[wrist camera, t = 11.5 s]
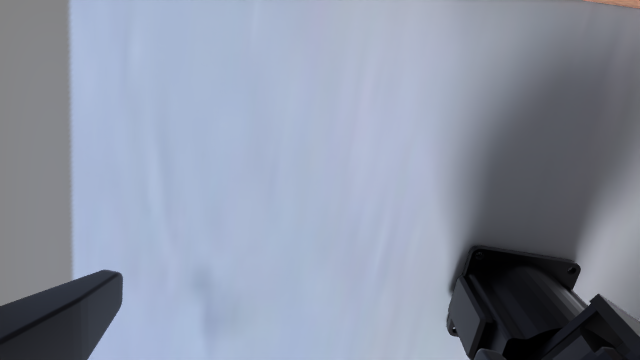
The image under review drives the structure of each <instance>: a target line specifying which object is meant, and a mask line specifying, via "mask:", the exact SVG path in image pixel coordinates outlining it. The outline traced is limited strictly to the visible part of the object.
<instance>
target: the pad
mask: <svg viewBox="0 0 640 360" xmlns="http://www.w3.org/2000/svg"><path fill="white" fill-rule="evenodd" d="M584 1H591V2H598V3H605V4H612V5H619V6H626V7H633V8H639V9H640V0H584Z"/></svg>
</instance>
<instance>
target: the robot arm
mask: <svg viewBox="0 0 640 360" xmlns="http://www.w3.org/2000/svg"><path fill="white" fill-rule="evenodd" d="M479 252H482V254H481V255H480V256H476V254H477V253H479ZM570 267H572V269H571V270H569V271H567V270H568V269H569V268H570ZM580 271H581V268H580V266H579V265H578V264H577V263H575V262H574V261H572V260H568V259H561V258H555V257H549V256H543V255H536V254H530V253H524V252H517V251H511V250H505V249H499V248H492V247H486V246H474V247H473V248H471V250H470V251H469V255H468V258H467V261H466V264H465V267H464V271H463V274H462V275H461V276H460V277H459V278H458V279H457V282H456V286H455V289H454V292H453V295H452V299H451V302H450V305H449V308H448V311H449V313H450V315H449V319H448V322H447V329H448V332H449V334H450V335H452V336H456V337H459V338H460V340H461V342H462V345H463V347H464V350H465V352H466V355H467V356H468V358H469V359H470V360H640V322H639V321H637V320H636V319H634V318H633V317H631V316H630V315H629V314H627V313H626V312H624V311H623V310H622V309H620V308H619V307H617V306H616V305H614V304H613V303H612V302H610V301H609V300H607V299H606V298H605V297H603V296H602V295H600V294H597V295H596V296H595V297H594V298H593V299H592V300H590V303H591V304H590V305H589V306H588V305H587V304H586V303H585V302H584V301H583V300H582V299H581V298H580V297H579V296H578V295H577V294H576V293H575V292H574V291H573V288H574V285H575V283H576V281H577V278H578V276H579V274H580ZM122 290H123V277H122V274H121V273H119V272H115V271H110V270H101V271H99V272H96V273H93V274H90V275H87V276H84V277H82V278H79V279H76V280H73V281H70V282H68V283H65V284H62V285H59V286H56V287H53V288H51V289H48V290H45V291H42V292H39V293H36V294H34V295H31V296H28V297H25V298H23V299H20V300H16V301H14V302H11V303H8V304H5V305H3V306H0V360H87V359H88V358H89V356H90V355H91V353H92V352H93V350H94V348H95V347H96V345H97V344H98V342H99V341H100V339H101V338H102V336H103V334H104V333H105V331H106V330H107V328H108V327H109V325H110V323H111V322H112V320H113V319H114V317H115V316H116V314H117V312H118V311H119V309H120V307H121V304H122ZM454 327H455V328H456V329H453V328H454Z"/></svg>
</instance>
